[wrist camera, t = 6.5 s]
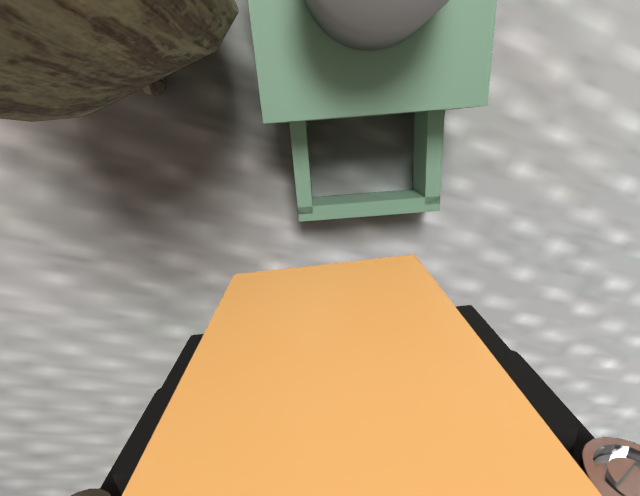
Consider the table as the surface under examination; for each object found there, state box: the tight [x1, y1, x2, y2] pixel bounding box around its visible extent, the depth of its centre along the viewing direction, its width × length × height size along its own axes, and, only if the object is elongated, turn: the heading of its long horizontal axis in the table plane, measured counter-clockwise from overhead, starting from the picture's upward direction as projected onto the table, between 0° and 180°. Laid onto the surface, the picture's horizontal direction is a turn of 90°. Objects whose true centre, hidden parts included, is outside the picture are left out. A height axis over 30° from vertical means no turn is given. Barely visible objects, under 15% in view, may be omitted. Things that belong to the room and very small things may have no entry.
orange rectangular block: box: [122, 254, 602, 496], centre depth 8 cm, size 6×6×9 cm
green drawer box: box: [248, 0, 497, 222], centre depth 18 cm, size 12×16×10 cm
